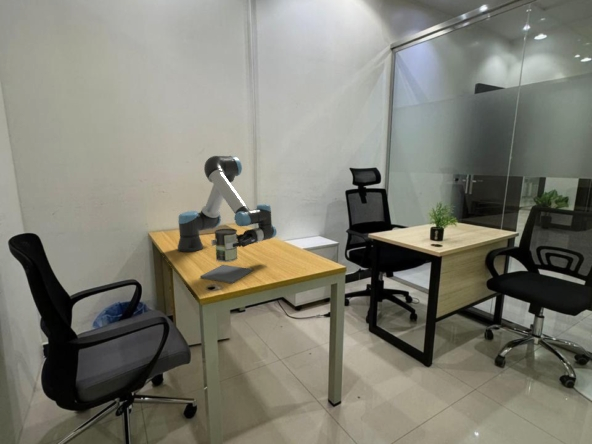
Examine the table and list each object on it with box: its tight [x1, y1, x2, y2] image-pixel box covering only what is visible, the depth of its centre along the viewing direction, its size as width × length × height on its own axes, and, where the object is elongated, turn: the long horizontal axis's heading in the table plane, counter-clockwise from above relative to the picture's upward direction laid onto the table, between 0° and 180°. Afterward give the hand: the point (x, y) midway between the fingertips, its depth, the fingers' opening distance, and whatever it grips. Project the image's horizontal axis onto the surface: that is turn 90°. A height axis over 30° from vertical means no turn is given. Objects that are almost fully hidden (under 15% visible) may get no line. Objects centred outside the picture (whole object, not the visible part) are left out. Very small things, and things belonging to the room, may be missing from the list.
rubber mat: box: [200, 264, 254, 284], centre depth 153 cm, size 18×18×1 cm
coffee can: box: [214, 228, 238, 263], centre depth 150 cm, size 10×10×14 cm
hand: (219, 244), depth 147 cm, fingers closed on coffee can, 10 cm apart
